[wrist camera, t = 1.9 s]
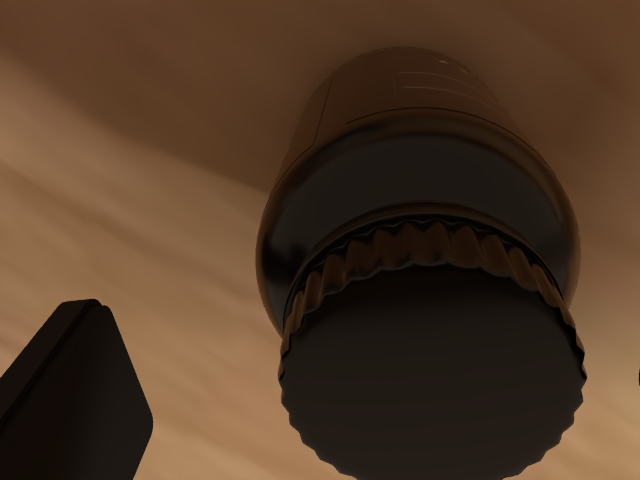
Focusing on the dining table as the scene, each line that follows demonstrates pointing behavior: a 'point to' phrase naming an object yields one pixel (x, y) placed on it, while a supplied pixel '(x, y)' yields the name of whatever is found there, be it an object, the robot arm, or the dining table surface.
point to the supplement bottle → (420, 277)
